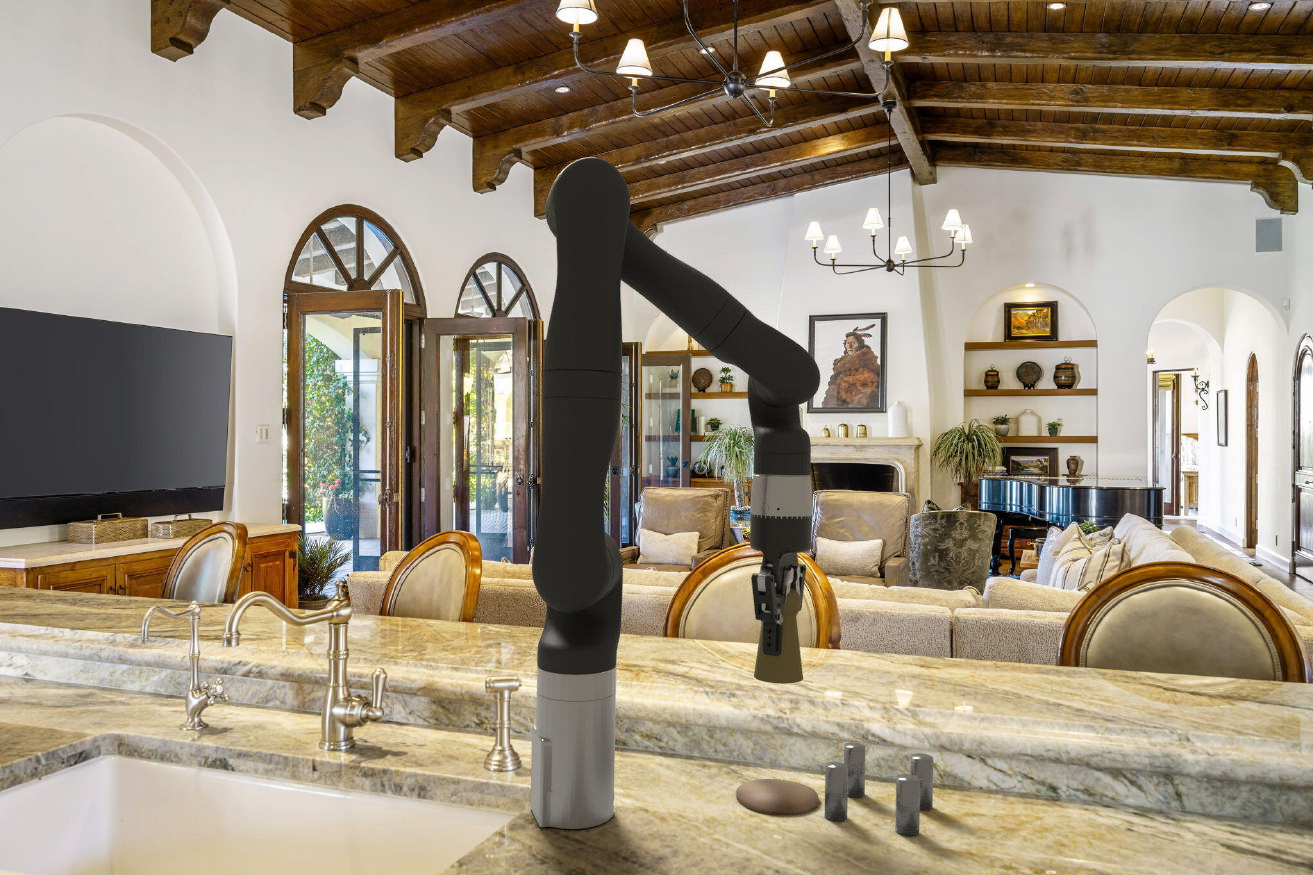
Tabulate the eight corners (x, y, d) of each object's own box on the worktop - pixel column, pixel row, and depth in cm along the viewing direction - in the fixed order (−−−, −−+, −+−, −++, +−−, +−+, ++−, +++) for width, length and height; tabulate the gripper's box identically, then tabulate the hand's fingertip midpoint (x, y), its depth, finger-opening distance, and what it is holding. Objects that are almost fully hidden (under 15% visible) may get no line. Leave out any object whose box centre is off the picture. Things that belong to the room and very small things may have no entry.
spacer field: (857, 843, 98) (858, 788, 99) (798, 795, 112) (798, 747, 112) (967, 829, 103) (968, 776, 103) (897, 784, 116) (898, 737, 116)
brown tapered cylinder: (802, 685, 108) (803, 592, 108) (751, 681, 109) (752, 589, 109) (804, 673, 113) (805, 585, 114) (756, 669, 115) (757, 583, 115)
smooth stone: (756, 819, 105) (756, 813, 105) (723, 787, 114) (723, 783, 114) (833, 809, 108) (833, 804, 108) (795, 780, 117) (795, 775, 117)
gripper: (791, 516, 103) (789, 666, 103) (827, 510, 116) (825, 644, 116) (730, 513, 107) (728, 659, 107) (771, 507, 119) (769, 637, 119)
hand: (778, 650), depth 111 cm, fingers closed on brown tapered cylinder, 4 cm apart
